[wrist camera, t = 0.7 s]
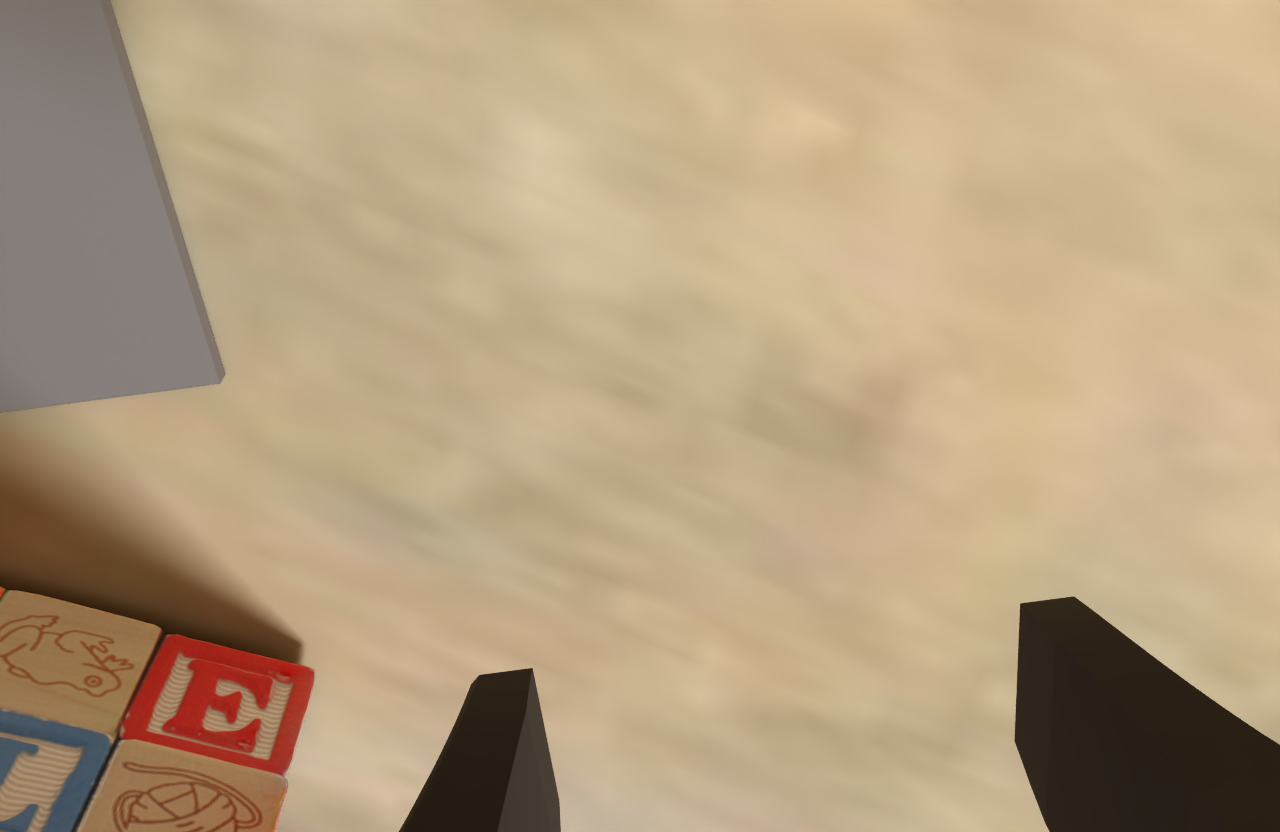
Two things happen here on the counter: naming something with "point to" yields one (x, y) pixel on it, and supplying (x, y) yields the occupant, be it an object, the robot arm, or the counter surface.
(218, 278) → the counter surface
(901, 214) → the counter surface
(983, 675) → the counter surface
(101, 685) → the stack of blocks
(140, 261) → the mat
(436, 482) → the counter surface
